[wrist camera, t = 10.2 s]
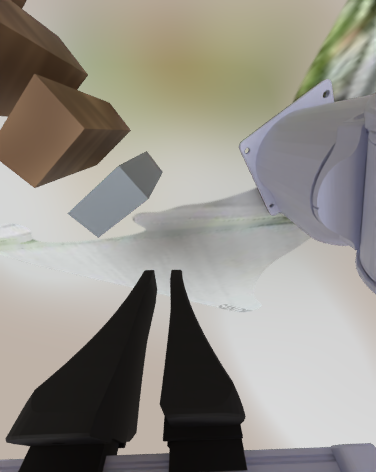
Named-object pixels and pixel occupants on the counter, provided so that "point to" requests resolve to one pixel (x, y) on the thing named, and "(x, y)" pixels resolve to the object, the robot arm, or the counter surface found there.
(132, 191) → the slate domino
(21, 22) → the walnut domino
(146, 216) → the counter surface
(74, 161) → the walnut domino
